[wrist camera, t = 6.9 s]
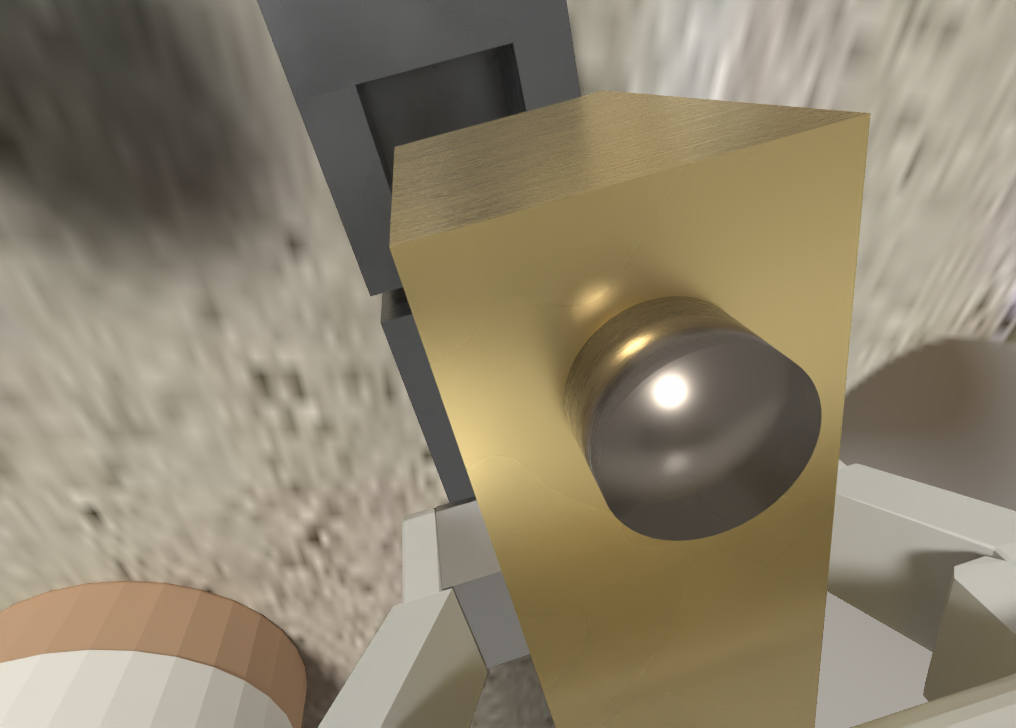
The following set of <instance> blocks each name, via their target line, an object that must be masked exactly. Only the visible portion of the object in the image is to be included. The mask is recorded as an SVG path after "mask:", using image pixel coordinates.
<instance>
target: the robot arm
mask: <svg viewBox="0 0 1016 728" xmlns="http://www.w3.org/2000/svg"><path fill="white" fill-rule="evenodd" d="M402 541H403V603H402V604H399V605H396V606H393V607H392V609H391V610H390V612H389V614H388V615H387V617H386V619H385V620H384V622H383V623H382V625H381V627H380V628H379V630H378V631H377V633H376V635H375V636H374V638H373V639H372V641H371V643H370V644H369V646H368V647H367V649H366V651H365V652H364V654H363V655H362V657H361V659H360V660H359V662H358V664H357V665H356V667H355V668H354V670H353V672H352V673H351V675H350V676H349V678H348V680H347V681H346V683H345V684H344V686H343V688H342V689H341V691H340V692H339V694H338V696H337V697H336V699H335V700H334V702H333V704H332V705H331V707H330V709H329V710H328V712H327V713H326V715H325V717H324V718H323V720H322V721H321V723H320V725H319V726H318V728H469V727H470V724H471V721H472V718H473V715H474V712H475V710H476V707H477V704H478V701H479V698H480V695H481V692H482V689H483V686H484V683H485V680H486V677H487V674H488V672H487V669H488V668H491V667H494V666H497V665H500V664H502V663H505V662H508V661H511V660H514V659H517V658H520V657H523V656H525V655H528V654H530V652H529V649H528V646H527V643H526V640H525V638H524V635H523V632H522V629H521V626H520V623H519V620H518V617H517V614H516V612H515V609H514V606H513V603H512V600H511V597H510V594H509V591H508V588H507V586H506V583H505V580H504V577H503V574H502V571H501V568H500V565H499V562H498V560H497V557H496V554H495V551H494V548H493V545H492V542H491V539H490V536H489V534H488V531H487V528H486V525H485V522H484V519H483V516H482V513H481V510H480V508H479V505H478V502H477V499H476V496H473V497H470V498H466V499H462V500H459V501H455V502H452V503H448V504H444V505H441V506H437V507H436V508H432V509H429V510H425V511H421V512H418V513H414V514H411V515H407V516H405V518H404V521H403V524H402ZM827 591H828V592H830V593H831V594H833V595H835V596H837V597H838V598H840V599H842V600H844V601H846V602H847V603H849V604H851V605H852V606H854V607H856V608H858V609H859V610H861V611H863V612H864V613H866V614H868V615H870V616H871V617H873V618H875V619H877V620H878V621H880V622H882V623H883V624H885V625H887V626H889V627H890V628H892V629H894V630H896V631H897V632H899V633H901V634H903V635H904V636H906V637H908V638H910V639H911V640H913V641H915V642H916V643H918V644H920V645H922V646H923V647H925V648H927V649H928V650H930V651H932V652H933V654H932V658H931V662H930V666H929V670H928V674H927V678H926V682H925V687H924V693H923V695H924V697H925V698H926V699H927V700H928V701H929V702H927V703H924V704H921V705H918V706H915V707H912V708H909V709H905V710H903V711H899V712H896V713H893V714H890V715H887V716H884V717H881V718H879V719H875V720H872V721H869V722H866V723H863V724H860V725H857V726H854V727H851V728H1016V511H1013V510H1009V509H1006V508H1003V507H1000V506H996V505H993V504H989V503H986V502H983V501H980V500H976V499H973V498H970V497H966V496H963V495H960V494H957V493H953V492H950V491H947V490H943V489H940V488H937V487H933V486H930V485H927V484H923V483H920V482H917V481H913V480H910V479H907V478H904V477H900V476H897V475H894V474H890V473H887V472H884V471H881V470H877V469H874V468H870V467H867V466H864V465H861V464H857V463H856V464H853V465H849V466H846V465H845V464H844V463H843V462H842V461H841V460H839V463H838V474H837V485H836V496H835V507H834V518H833V529H832V540H831V551H830V562H829V573H828V584H827Z"/></svg>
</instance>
